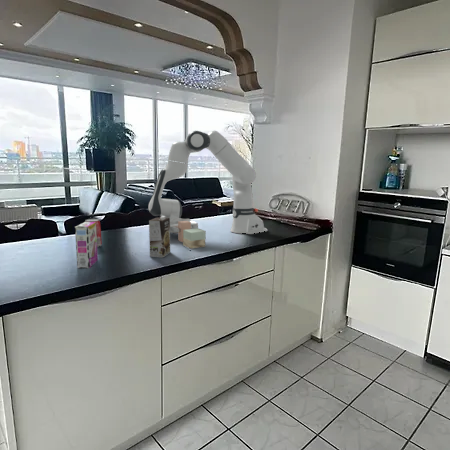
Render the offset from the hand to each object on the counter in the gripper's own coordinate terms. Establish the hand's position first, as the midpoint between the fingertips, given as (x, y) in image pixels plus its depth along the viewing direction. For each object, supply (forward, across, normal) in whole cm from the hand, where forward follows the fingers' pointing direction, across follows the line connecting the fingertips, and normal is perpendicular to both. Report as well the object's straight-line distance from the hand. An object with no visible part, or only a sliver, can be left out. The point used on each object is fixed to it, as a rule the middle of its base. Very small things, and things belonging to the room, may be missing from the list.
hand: (185, 229), depth 173 cm
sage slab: (+11, 0, +2) cm, 11 cm away
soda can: (-11, -43, +6) cm, 45 cm away
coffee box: (+18, -20, +6) cm, 28 cm away
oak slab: (+11, 0, +6) cm, 13 cm away
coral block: (-1, 0, +6) cm, 6 cm away
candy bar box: (+18, -50, +6) cm, 54 cm away
